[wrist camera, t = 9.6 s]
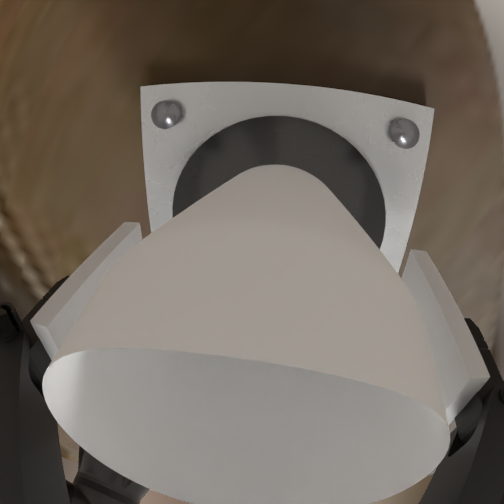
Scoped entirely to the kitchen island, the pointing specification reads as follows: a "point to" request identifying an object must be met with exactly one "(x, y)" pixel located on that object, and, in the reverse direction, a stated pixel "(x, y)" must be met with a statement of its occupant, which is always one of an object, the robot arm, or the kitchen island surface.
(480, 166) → the kitchen island surface
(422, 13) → the kitchen island surface
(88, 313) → the cup
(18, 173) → the kitchen island surface
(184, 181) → the flange
